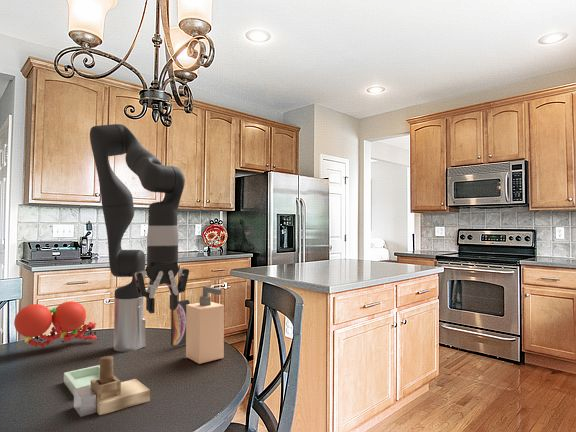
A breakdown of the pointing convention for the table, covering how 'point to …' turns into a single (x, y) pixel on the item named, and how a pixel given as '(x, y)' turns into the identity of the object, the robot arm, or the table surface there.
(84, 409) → the stop
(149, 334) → the table surface
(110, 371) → the dowel
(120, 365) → the table surface
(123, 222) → the robot arm
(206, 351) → the soap dispenser
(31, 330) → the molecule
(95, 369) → the tray
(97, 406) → the wooden socket block
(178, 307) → the smartphone
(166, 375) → the table surface
